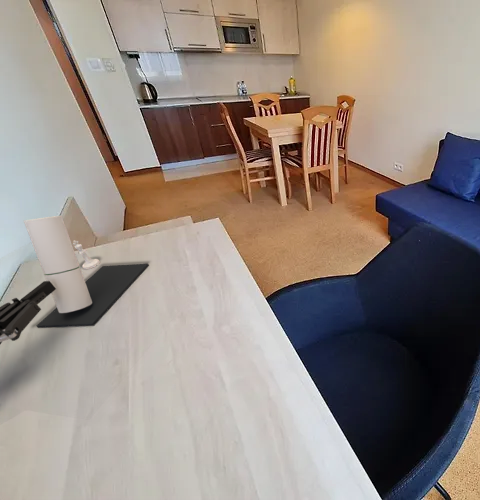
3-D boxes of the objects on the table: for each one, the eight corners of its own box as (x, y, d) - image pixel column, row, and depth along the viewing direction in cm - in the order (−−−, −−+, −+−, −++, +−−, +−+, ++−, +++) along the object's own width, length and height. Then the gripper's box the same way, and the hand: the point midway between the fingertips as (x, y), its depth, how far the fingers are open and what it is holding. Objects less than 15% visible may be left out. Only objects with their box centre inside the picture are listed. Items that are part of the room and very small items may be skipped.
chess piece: (79, 268, 103) (61, 244, 97) (91, 260, 107) (74, 236, 101) (91, 269, 102) (73, 245, 96) (103, 260, 106) (87, 236, 100)
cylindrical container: (91, 299, 89) (62, 215, 82) (92, 305, 83) (61, 215, 77) (59, 308, 84) (25, 220, 78) (58, 315, 79) (21, 221, 73)
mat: (37, 327, 81) (35, 325, 81) (104, 267, 102) (102, 265, 102) (94, 325, 80) (92, 323, 80) (149, 265, 101) (148, 263, 101)
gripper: (-67, 379, 61) (36, 296, 80) (-7, 377, 60) (82, 294, 79) (-102, 356, 56) (16, 274, 76) (-38, 354, 55) (64, 272, 75)
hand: (50, 285), depth 77 cm, fingers closed
